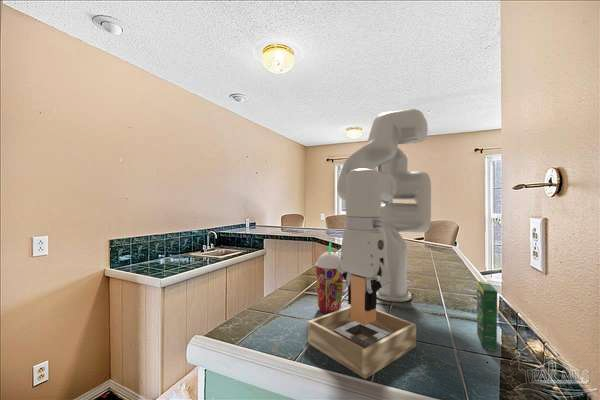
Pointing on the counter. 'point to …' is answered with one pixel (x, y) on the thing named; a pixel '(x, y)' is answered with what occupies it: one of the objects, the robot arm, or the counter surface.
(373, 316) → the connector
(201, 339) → the counter surface
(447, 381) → the counter surface
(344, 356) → the walled tray
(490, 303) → the coffee box
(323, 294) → the smoothie
